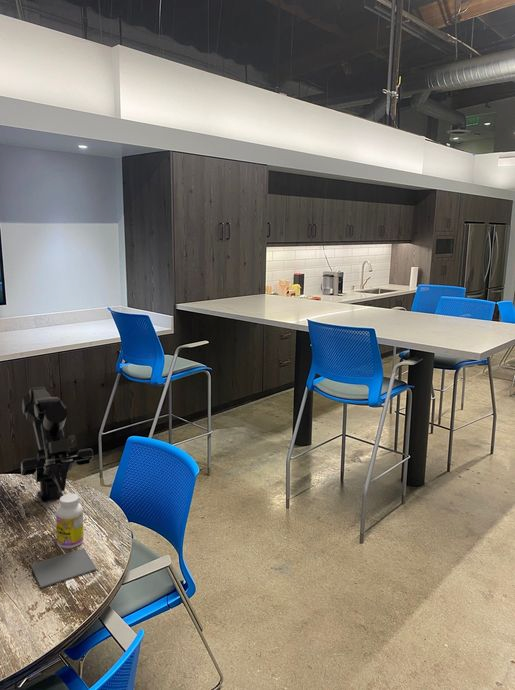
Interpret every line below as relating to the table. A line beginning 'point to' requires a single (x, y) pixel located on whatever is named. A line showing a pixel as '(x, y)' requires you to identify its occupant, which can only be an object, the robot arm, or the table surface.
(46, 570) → the mat
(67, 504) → the supplement bottle
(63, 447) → the robot arm
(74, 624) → the table surface
